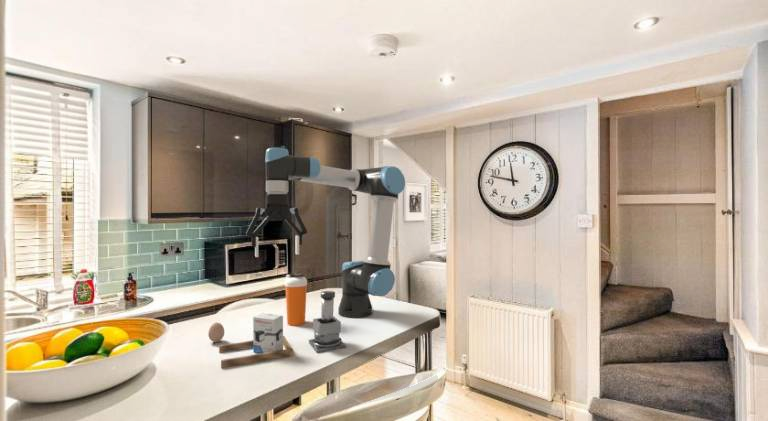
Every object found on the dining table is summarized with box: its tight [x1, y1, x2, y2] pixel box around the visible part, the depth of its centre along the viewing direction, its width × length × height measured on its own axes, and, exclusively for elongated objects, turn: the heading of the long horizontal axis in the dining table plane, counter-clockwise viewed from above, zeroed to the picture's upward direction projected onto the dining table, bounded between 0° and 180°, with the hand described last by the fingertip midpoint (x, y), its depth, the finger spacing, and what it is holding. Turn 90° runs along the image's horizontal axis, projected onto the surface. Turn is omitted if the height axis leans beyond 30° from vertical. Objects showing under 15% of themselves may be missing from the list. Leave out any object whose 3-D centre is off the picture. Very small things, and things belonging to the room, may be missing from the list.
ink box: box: [252, 312, 284, 354], centre depth 125 cm, size 8×5×12 cm, turn 69°
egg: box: [207, 321, 225, 343], centre depth 133 cm, size 5×5×7 cm
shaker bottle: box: [284, 272, 308, 327], centre depth 154 cm, size 9×9×20 cm
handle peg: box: [320, 290, 336, 324], centre depth 130 cm, size 5×5×13 cm
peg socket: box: [308, 315, 347, 354], centre depth 130 cm, size 10×10×8 cm
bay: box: [218, 335, 294, 369], centre depth 123 cm, size 21×14×2 cm, turn 116°
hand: (277, 255), depth 130 cm, fingers open, 13 cm apart
